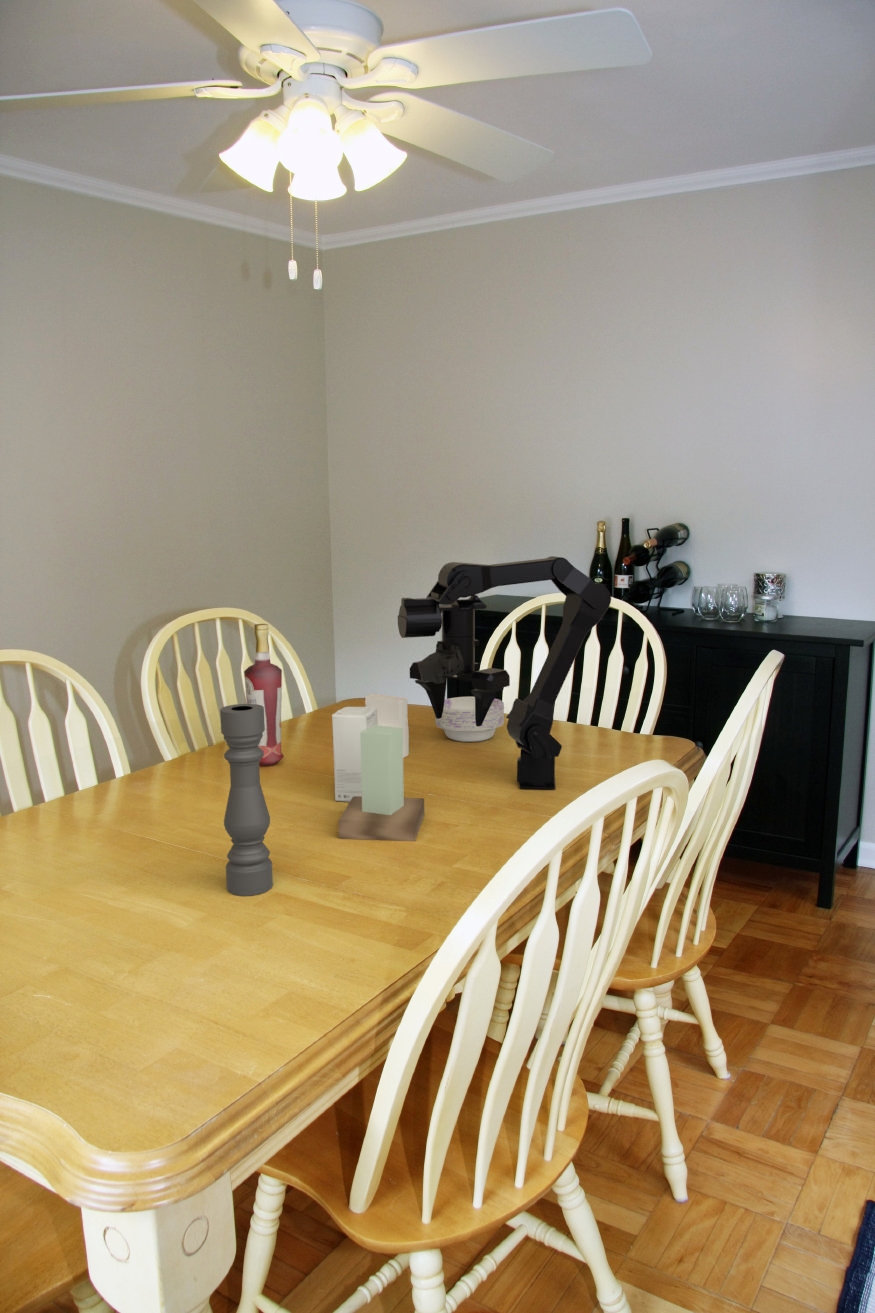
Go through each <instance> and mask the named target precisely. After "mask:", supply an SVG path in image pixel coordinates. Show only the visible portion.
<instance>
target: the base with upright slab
mask: <svg viewBox="0 0 875 1313" xmlns="http://www.w3.org/2000/svg"><path fill="white" fill-rule="evenodd" d="M364 698H365V701H364V702H365V704H364V705H365V706H364V707H377V721H378V725H379V726H389V727H399V728H403V758H406V757H407V756H409V754H410V752H409V751H410V750H409V749H410V743H409V742H410V740H409V738H410V737H409V734H410V733H409V731H410V730H409V722H408V717H409V716H408V697H402V696H393V695H387V694H378V693H371V694H368V695H365V696H364Z"/></svg>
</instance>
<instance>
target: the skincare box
mask: <svg viewBox="0 0 875 1313" xmlns="http://www.w3.org/2000/svg"><path fill="white" fill-rule="evenodd" d="M331 718H332V719H331V721H332V722H331V723H332V747H333V750H332V751H333V772H334V774H333V775H334V778H333V780H334V801H336V802H344V803H345V802H347V803H349V802H350V801H351V799H352V797H353V796H362V782H361V736H360V732H362V731H364V730H366V729H368V728H370V727H372V726H374V725H378V721H377V707H366V706H344V707H343V708H341V709H338V710H336V712H334V713H333V714H331Z"/></svg>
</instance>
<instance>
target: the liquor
mask: <svg viewBox="0 0 875 1313" xmlns="http://www.w3.org/2000/svg"><path fill="white" fill-rule="evenodd" d="M253 627H254V628H253V629H254V637H255V656H254V658H255V659H254V664H252V665H250V666H248V667H247V668H246V669H245V670H244V671H243V674H244V676H243V677H244V685H245V686H244V687H245V700H246V704H258V705H262V706H263V707H264V724H265V730H264V732H263V737H262V738H261V740H260V743H259V745H258V747H259V748H260V749H262V750H263V751H264V756H263V757H262V758H261V759H260V762H259V767H271V766H275V765H277V764H278V763H279V762H280V761H282V759H283V758H284V754H283V752H282V697H283V695H282V694H283V693H282V690H283V688H282V685H283V680H282V675H283V671H282V668H280V666H278V665H276V664H274V663H271V656H270V650H269V641H268V638H269V624H268V623H256V624H253Z"/></svg>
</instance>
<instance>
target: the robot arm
mask: <svg viewBox="0 0 875 1313" xmlns="http://www.w3.org/2000/svg"><path fill="white" fill-rule="evenodd" d="M437 577H438V578H437V581H436V582H435V584H434V586H432V588H431V590H430V592H429V593H428V594H427V596H426V597H422V598H421V597H419V598H412V597H402V598H401V599H400V600H401V604H400V606H399V609H398V610H399V611H398V615H397V628H398V632H399V636H400V637H401V638H403V639H404V638H407V639H408V638H409V639H410V638H424V637H426V638H427V637H435V636H436V634H437V633H439V632H440V630H441V640H437V642H436V646H435V651H434V652H433V653H431V654H429V655H427V656H426V657H425V658H424V659H422V660H419V661H414V662H412V664H411V666H410V667H409V679H411V680H412V679H413V680H414V682H415V684H418V685H420V687H421V688H423V689H424V691H425V692H426V695H427V697H428V699H429V703H430V705H431V708H432V711H433V713H434V717H435V716H436V718H437V719H440V718H442V714H443V709H444V700H445V699H446V692H447V691H446V690H447V683H448V681H447V680H448V679H452V680H458V681H465V682H470V683H471V686H472V687H473V689H470V692H471V695H473V697H475V721H476V726H477V727H479V726H481V725H482V723H483V721H484V719H485V717H486V715H487V712H488V710H489V708H490V706H491V704H492V702H493V700H494V699H496V697H497V695H498V694H499V692H500V691H501V692H502V691H504V688H506V687H510V684H511V682H510V681H511V680H510V679H511V677H510V676H511V675H510V674H509V672H508V671H507V670H506V669H501V668H493V667H489V668H484V669H481V670H480V662H479V663H478V662H475V660H476V659H475V654H476V653H475V651H476V650H475V647H480V639H476V638H475V633H476V632H475V629H476V627H475V624H476V622H475V620H476V618H475V612H476V611H475V610H485V609H486V608H487V605H486V604H485V602H483V601H482V600H481V599H480V598H479V596H478V595H479V594H482V593H484V592H486V591H488V590H490V589H493V588H496V587H503V586H511V585H518V584H527V583H536V582H542V581H551V582H552V584H554V586H555V587H556V588H557V589H558V591H559V592H561V593H562V594H563V595H564V596H565V600H564V602H563V606H562V622H561V626H560V627H559V630H558V632H557V635H556V637H555V640H554V641H553V643H552V645H551V648H550V650H549V652H548V654H547V656H546V658H545V660H544V663H543V665H542V668H541V669H540V672H539V674H538V676H537V678H536V680H535V683H534V685H533V687H532V688H531V691H530V693H529V694H528V695H527V696H526V697H525V698H524V699H523V700H521V699H519V698H515V699H514V701H513V703H512V707H511V710H510V712H509V713H508V714H507V715H506V716H505V718H506V719H507V723H506V730H507V732H508V735H509V736H510V738H512V739H513V740H515V744H516V747H517V748H519V749H520V755H519V756H520V757H519V756H518V757H517V758H516V759H517V761H516V783H517V784H519V786H518V787H519V789H524V790H525V789H526V790H528V789H531V790H532V789H533V790H556V773H555V771H556V757H557V758H558V757H559V756H560V753H561V750H562V747H563V745H562V744H561V743H560V742H559V741H558V740H557V739H556V738H555V737H554V736H552V735H551V731H552V727H553V723H554V711H555V710H554V709H555V708H554V707H555V703H556V700H557V699H558V697H559V694H560V691H561V689H562V688H563V685H564V683H565V681H566V678H567V677H568V675H569V672H570V670H571V668H572V667H573V663H574V662H575V659H576V657H577V655H578V653H579V651H580V649H581V647H582V644H583V642H584V640H585V637H587V636H586V635H587V634H588V633H589V632H590V631H591V630H593V628H594V627H595V626H596V625H597V624H598V623H599V622H600V621H601V620H602V619H603V617H604V615H605V614H606V612H607V611H608V609H609V607H610V606H611V603H612V596H611V594H610V590H609V589H608V588H607V586H605V585H604V584H602V583H599V582H594V580H593V579H591V578H590V577H589V576H588V575H586V574H584V573H583V572H582V571H580V570H579V569H578V568H576V567H575V566H574V565H573V564H572V563H571V562H570V561H569V560H568V559H567V558H565V557H561V556H560V557H559V556H553V555H552V556H548V557H546V558H537V559H527V560H521V561H520V560H519V561H511V562H502V563H495V564H494V563H493V564H492V563H491V564H485V563H484V564H482V563H481V564H480V563H471V562H458V561H457V562H456V561H450V562H447V563H445V564H444V565H443V566H442V567H441V569H440V570H439V573H438V576H437ZM460 598H462V599H460ZM464 598H466V599H464ZM475 670H476V671H475Z"/></svg>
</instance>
